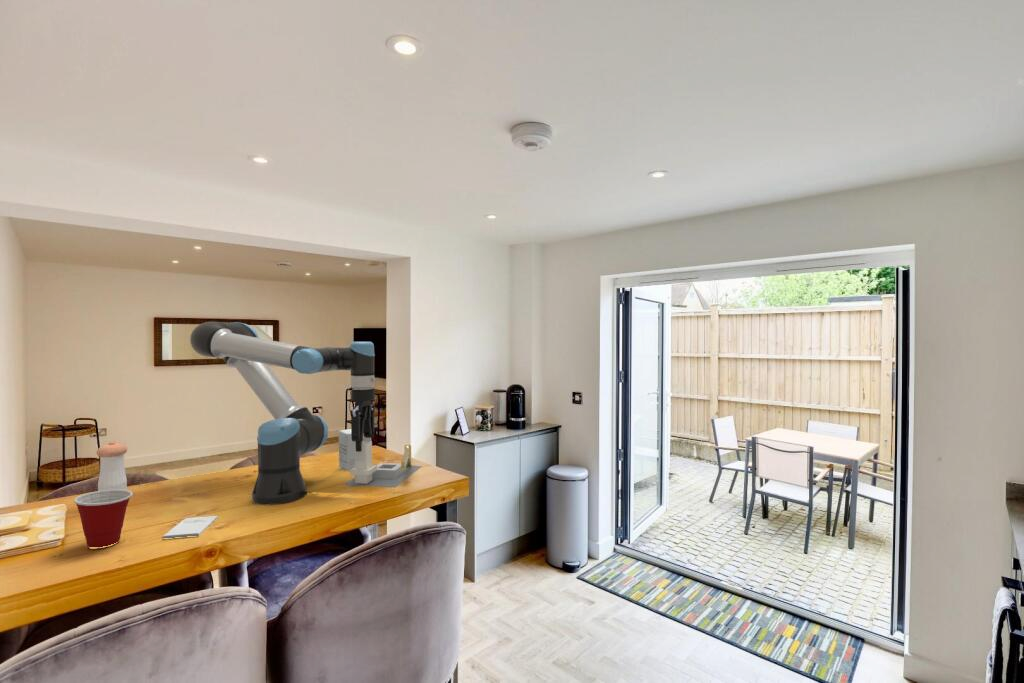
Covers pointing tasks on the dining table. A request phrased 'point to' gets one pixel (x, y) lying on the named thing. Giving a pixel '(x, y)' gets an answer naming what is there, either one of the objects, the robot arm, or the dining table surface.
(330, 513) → the dining table surface
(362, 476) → the plug
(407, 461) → the clip
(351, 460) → the supplement box
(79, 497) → the plastic cup
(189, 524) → the external hard drive
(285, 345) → the robot arm
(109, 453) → the pepper shaker
